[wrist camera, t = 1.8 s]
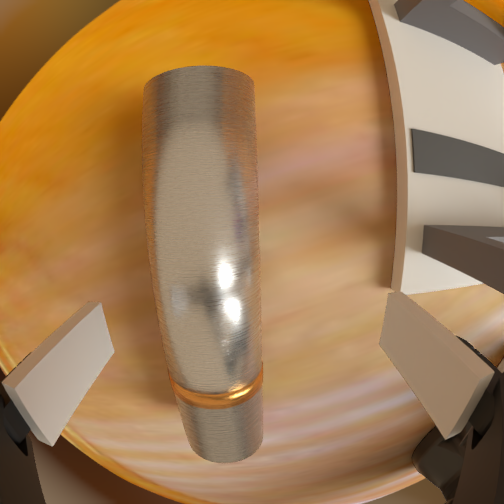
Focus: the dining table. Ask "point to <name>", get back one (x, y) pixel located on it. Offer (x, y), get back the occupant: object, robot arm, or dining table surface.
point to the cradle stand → (445, 142)
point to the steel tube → (206, 252)
